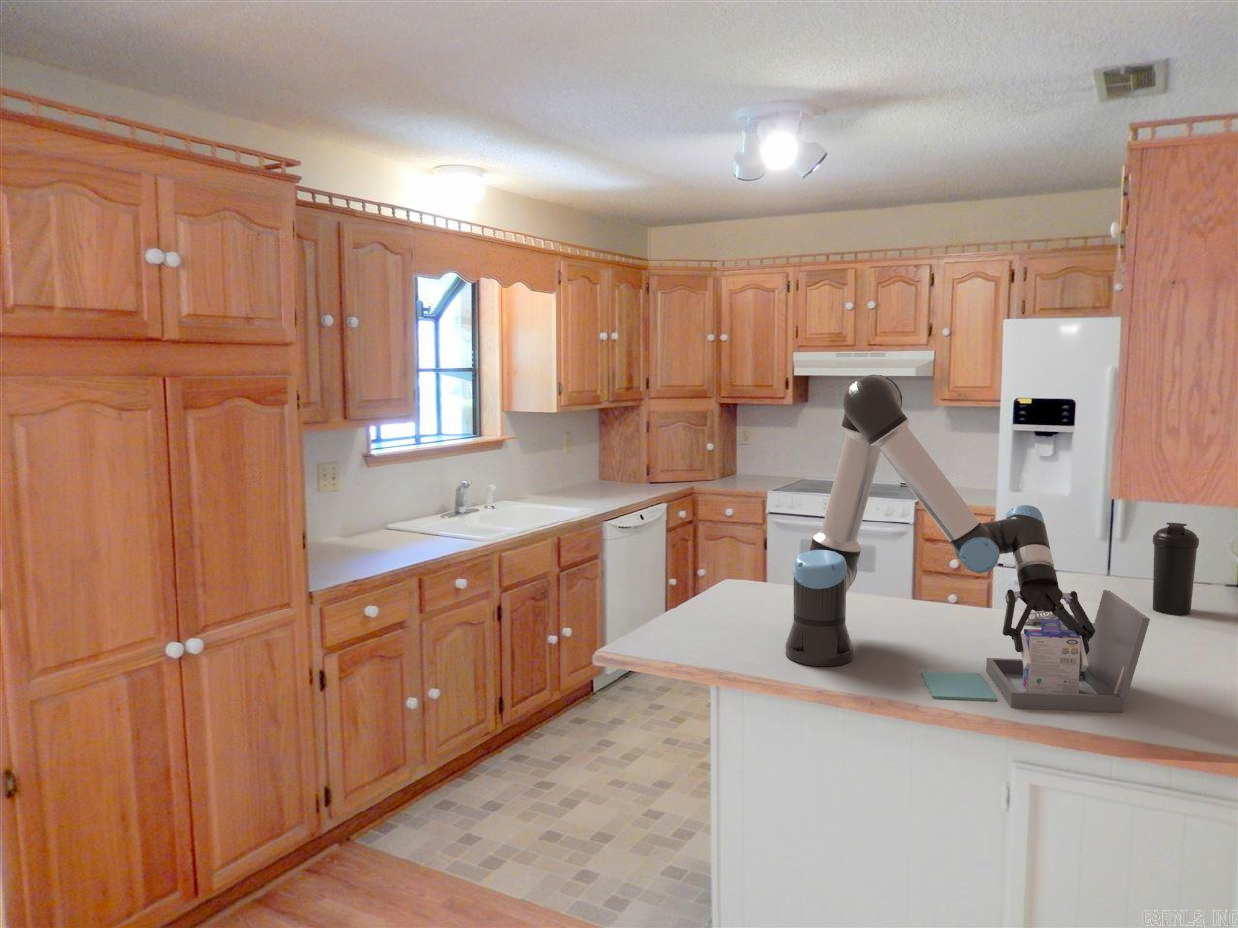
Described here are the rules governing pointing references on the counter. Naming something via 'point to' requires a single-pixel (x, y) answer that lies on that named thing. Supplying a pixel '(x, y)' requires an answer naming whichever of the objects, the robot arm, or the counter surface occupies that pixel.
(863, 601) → the counter surface
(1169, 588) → the water bottle
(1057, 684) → the ink cartridge box
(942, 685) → the teal mat
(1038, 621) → the graphics card
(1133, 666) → the equipment case
